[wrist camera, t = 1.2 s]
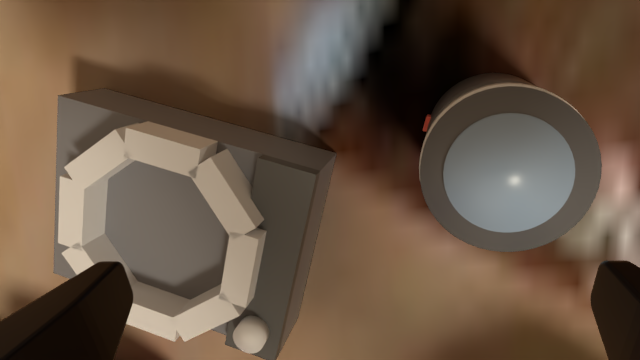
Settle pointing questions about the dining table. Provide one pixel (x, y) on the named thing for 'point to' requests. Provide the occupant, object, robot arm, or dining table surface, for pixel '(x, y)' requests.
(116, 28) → the dining table surface
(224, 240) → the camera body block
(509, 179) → the lens
